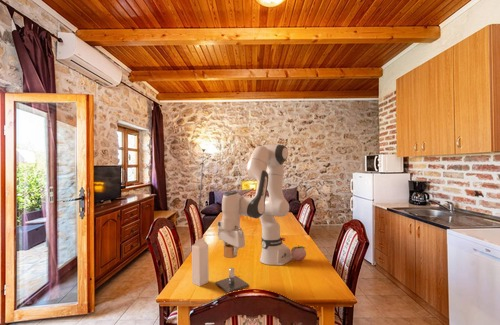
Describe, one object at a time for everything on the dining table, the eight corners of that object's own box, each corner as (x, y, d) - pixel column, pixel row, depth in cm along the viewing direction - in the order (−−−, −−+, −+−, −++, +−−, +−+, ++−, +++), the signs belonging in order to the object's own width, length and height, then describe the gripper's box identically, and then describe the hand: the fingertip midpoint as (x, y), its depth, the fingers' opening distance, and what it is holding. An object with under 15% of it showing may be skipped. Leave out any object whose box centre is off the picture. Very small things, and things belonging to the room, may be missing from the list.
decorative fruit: (301, 258, 159) (300, 242, 160) (308, 262, 152) (308, 246, 152) (288, 260, 156) (287, 244, 156) (295, 265, 148) (294, 248, 148)
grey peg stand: (235, 277, 134) (235, 262, 134) (248, 286, 124) (248, 269, 124) (215, 283, 127) (215, 267, 127) (227, 293, 117) (227, 276, 117)
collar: (232, 252, 129) (232, 243, 129) (239, 256, 124) (239, 246, 124) (222, 255, 126) (222, 245, 126) (228, 259, 121) (228, 248, 121)
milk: (208, 282, 129) (208, 238, 129) (199, 286, 124) (199, 241, 124) (201, 278, 133) (200, 236, 133) (191, 283, 128) (191, 239, 128)
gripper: (248, 227, 119) (248, 257, 118) (226, 220, 135) (226, 246, 135) (236, 229, 115) (236, 259, 115) (215, 221, 132) (215, 248, 131)
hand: (230, 252), depth 125 cm, fingers closed on collar, 6 cm apart
